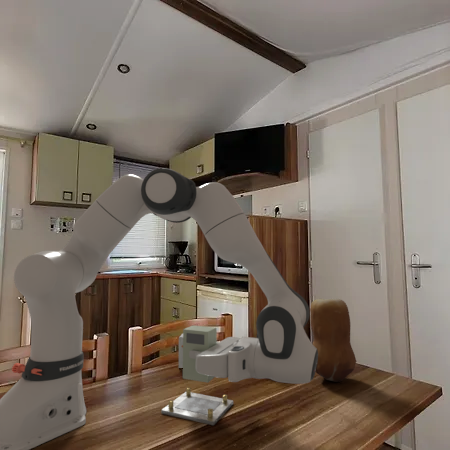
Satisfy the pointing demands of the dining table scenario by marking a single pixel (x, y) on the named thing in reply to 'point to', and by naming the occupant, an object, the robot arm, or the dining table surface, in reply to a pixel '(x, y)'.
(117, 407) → the dining table surface
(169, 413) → the plate
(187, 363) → the block
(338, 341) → the butternut squash
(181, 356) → the small box
